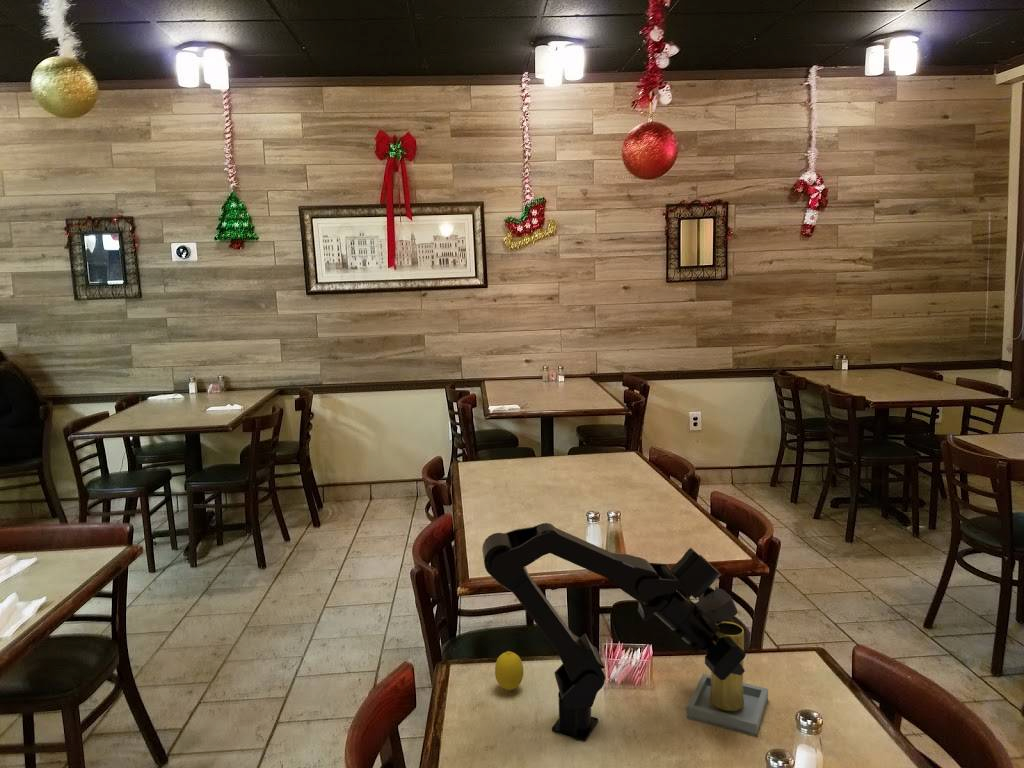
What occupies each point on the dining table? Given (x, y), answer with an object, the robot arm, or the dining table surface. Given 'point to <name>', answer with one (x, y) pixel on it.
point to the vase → (730, 689)
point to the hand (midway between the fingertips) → (734, 664)
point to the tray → (736, 720)
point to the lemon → (509, 670)
